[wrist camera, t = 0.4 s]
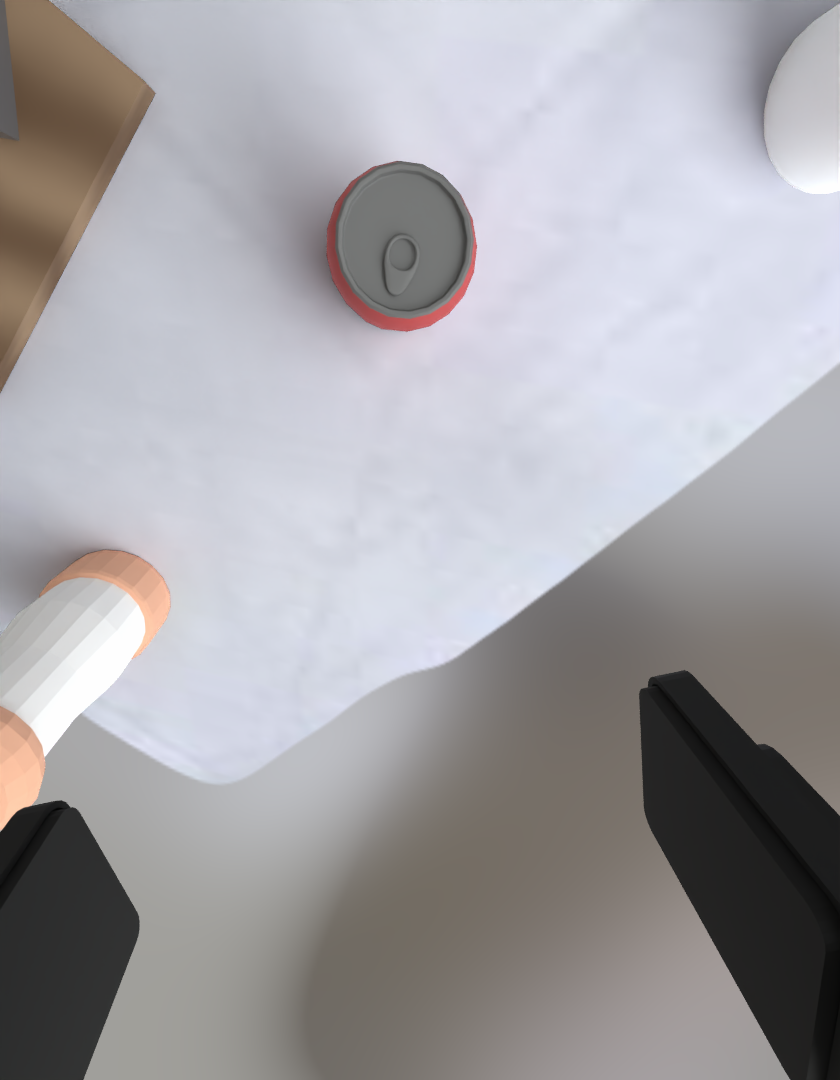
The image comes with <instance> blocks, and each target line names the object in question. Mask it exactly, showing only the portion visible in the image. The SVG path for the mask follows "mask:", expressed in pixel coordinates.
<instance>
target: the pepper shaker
mask: <svg viewBox="0 0 840 1080" xmlns="http://www.w3.org/2000/svg"><path fill="white" fill-rule="evenodd" d="M169 609H170V593H169V590H168V588H167V586H166V583H165V581H164V579H163V578H162V576H161V575H160V574H159V573H158V572H157V571H156V570H155V568H154V567H153V566H151V565H150V564H148V563H147V562H145V561H144V560H142V559H141V558H139V557H138V556H135V555H132V554H129V553H126V552H123V551H114V550H101V551H97V552H92V553H88V554H86V555H85V556H83V557H81V558H80V559H78V560H77V561H75V562H74V563H72V564H71V565H70V566H69V567H67V568H66V569H65V570H63V571H62V572H61V573H60V574H58V575H57V576H56V577H55V578H53V579H52V580H51V581H49V583H48V584H47V585H46V587H45V588H44V589H43V591H42V592H41V593H40V595H39V598H38V599H37V600H35V601H34V602H33V603H31V604H30V605H29V606H27V607H26V608H25V609H23V610H22V611H21V612H19V613H18V614H17V616H16V617H15V618H14V619H13V621H12V622H11V623H10V624H9V626H8V627H7V628H6V629H5V631H4V632H3V633H2V634H1V636H0V830H1V829H3V828H4V827H5V825H6V824H7V823H8V821H9V820H10V818H11V817H12V816H13V815H14V814H15V813H16V812H17V811H18V810H20V809H22V808H24V807H29V806H31V805H32V804H33V802H34V801H35V800H36V799H37V797H38V793H39V790H40V786H41V783H42V779H43V775H44V772H45V758H44V757H45V756H46V755H47V754H48V752H49V751H50V750H51V748H52V747H53V746H54V745H55V743H56V742H57V741H58V739H59V738H60V737H61V736H62V734H63V733H64V732H65V730H66V729H67V728H68V727H69V725H70V724H71V723H72V721H73V720H74V719H75V718H76V717H77V716H78V715H79V714H80V713H81V712H83V711H84V710H85V709H86V708H87V707H88V706H89V705H90V704H91V703H92V702H94V701H95V700H96V699H97V698H98V697H99V696H100V695H101V694H102V693H103V692H105V691H106V690H107V689H108V688H109V687H110V686H111V685H112V684H113V683H114V682H115V681H116V679H117V678H118V677H119V676H120V675H121V673H122V672H123V670H124V669H125V667H126V666H127V664H128V663H129V661H130V660H131V659H133V658H135V657H136V656H138V655H140V654H141V653H142V651H143V650H144V649H145V648H146V647H147V645H148V644H149V643H150V642H151V640H152V639H153V637H154V636H155V634H156V633H157V632H158V630H159V629H160V627H161V626H162V625H163V623H164V622H165V620H166V618H167V615H168V612H169Z"/></svg>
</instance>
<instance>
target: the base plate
mask: <svg viewBox="0 0 840 1080" xmlns="http://www.w3.org/2000/svg"><path fill="white" fill-rule="evenodd" d="M5 7H6V17H7V26H8V36H9V45H10V55H11V65H12V74H13V84H14V93H15V103H16V113H17V122H18V132H19V141H17V140H11V139H5V138H0V393H1V391H2V389H3V387H4V385H5V383H6V381H7V379H8V377H9V375H10V373H11V371H12V369H13V367H14V366H15V364H16V362H17V360H18V358H19V356H20V354H21V352H22V350H23V348H24V346H25V344H26V342H27V340H28V338H29V337H30V335H31V333H32V331H33V329H34V327H35V325H36V323H37V321H38V319H39V317H40V315H41V313H42V311H43V310H44V308H45V306H46V304H47V302H48V300H49V298H50V296H51V294H52V292H53V290H54V288H55V286H56V284H57V283H58V281H59V279H60V277H61V275H62V273H63V271H64V269H65V267H66V265H67V263H68V261H69V259H70V257H71V256H72V254H73V252H74V250H75V248H76V246H77V244H78V242H79V240H80V238H81V236H82V234H83V232H84V230H85V229H86V227H87V225H88V223H89V221H90V219H91V217H92V215H93V213H94V211H95V209H96V207H97V205H98V203H99V202H100V200H101V198H102V196H103V194H104V192H105V190H106V188H107V186H108V184H109V182H110V180H111V178H112V176H113V174H114V173H115V171H116V169H117V167H118V165H119V163H120V161H121V159H122V157H123V155H124V153H125V151H126V149H127V147H128V146H129V144H130V142H131V140H132V138H133V136H134V134H135V132H136V130H137V128H138V126H139V124H140V122H141V120H142V119H143V117H144V115H145V113H146V111H147V109H148V107H149V105H150V103H151V101H152V99H153V97H154V95H155V92H154V91H153V90H152V89H151V88H150V87H149V86H148V85H147V84H146V82H145V81H144V80H142V79H141V78H140V77H139V76H138V75H136V74H135V73H134V72H133V71H132V70H131V69H129V68H128V67H127V66H126V65H125V64H123V63H122V62H121V61H120V60H119V59H118V58H116V57H115V56H114V55H113V54H112V53H110V52H109V51H108V50H107V49H106V48H105V47H103V46H102V45H101V44H100V43H99V42H97V41H96V40H95V39H94V38H93V37H92V36H90V35H89V34H88V33H87V32H86V31H84V30H83V29H82V28H81V27H80V26H79V25H77V24H76V23H75V22H74V21H73V20H71V19H70V18H69V17H68V16H67V15H66V14H64V13H63V12H62V11H61V10H60V9H58V8H57V7H56V6H55V5H54V4H53V3H51V2H50V1H49V0H5Z"/></svg>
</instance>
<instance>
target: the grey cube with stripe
mask: <svg viewBox="0 0 840 1080" xmlns="http://www.w3.org/2000/svg"><path fill="white" fill-rule="evenodd" d="M0 138H5V139H11V140H17V141H19V132H18V122H17V113H16V103H15V93H14V84H13V74H12V65H11V55H10V45H9V36H8V26H7V17H6V7H5V0H0Z"/></svg>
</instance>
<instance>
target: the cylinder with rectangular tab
mask: <svg viewBox="0 0 840 1080" xmlns="http://www.w3.org/2000/svg"><path fill="white" fill-rule="evenodd" d="M764 138H765V142H766V147H767V151H768V155H769V158H770V160H771V162H772V163H773V165H774V167H775V169H776V171H777V172H778V174H779V175H780V176H781V177H782V178H783V179H784V180H785V181H786V182H787V183H789V184H790V185H791V186H792V187H794V188H797V189H799V190H802V191H804V192H806V193H815V194H828V193H832V192H835V191H839V190H840V3H839V4H838V5H836V6H835V7H833V8H832V9H830V10H829V11H828V12H826V13H825V14H823V15H822V16H820V17H819V18H817V19H816V20H815V21H813V22H812V23H811V24H810V25H809V26H808V27H807V28H806V29H805V30H804V31H803V32H802V33H801V34H800V35H799V36H798V37H797V38H796V39H795V40H794V41H793V43H792V44H791V46H790V47H789V49H788V50H787V52H786V53H785V55H784V56H783V58H782V59H781V61H780V62H779V64H778V67H777V69H776V72H775V74H774V77H773V79H772V81H771V84H770V86H769V90H768V95H767V100H766V105H765V110H764Z"/></svg>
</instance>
